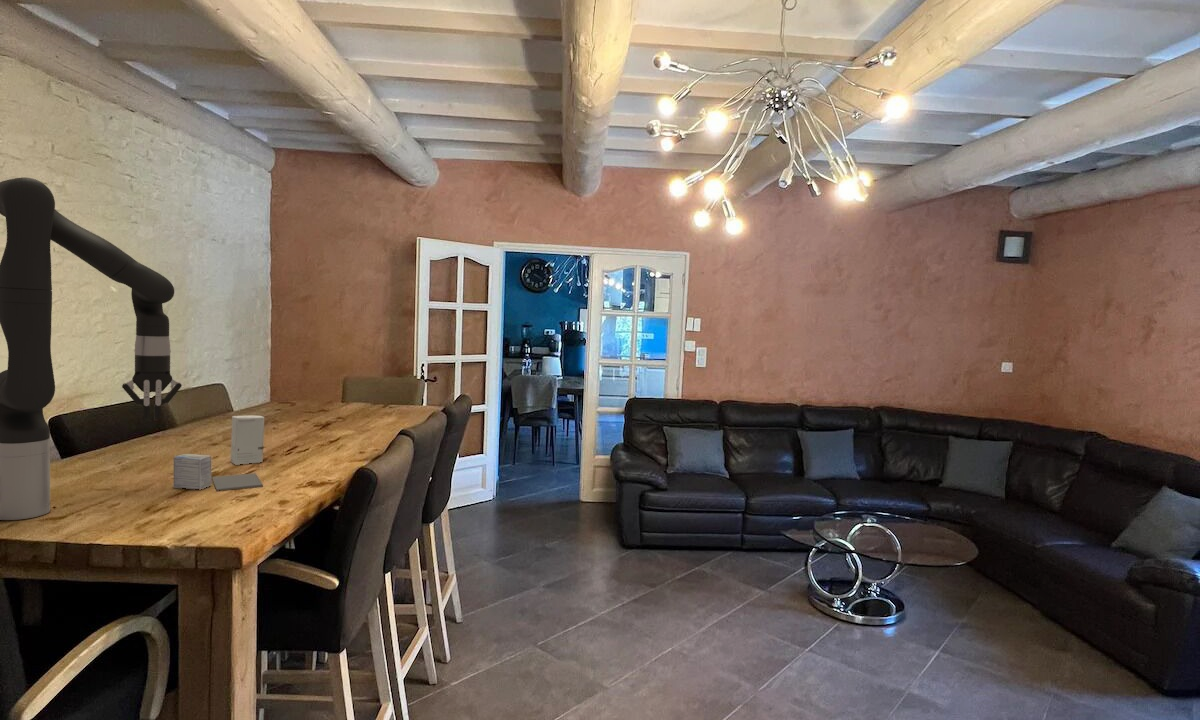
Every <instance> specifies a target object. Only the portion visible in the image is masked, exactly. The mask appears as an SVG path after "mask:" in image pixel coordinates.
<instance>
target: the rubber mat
mask: <svg viewBox="0 0 1200 720" xmlns="http://www.w3.org/2000/svg"><path fill="white" fill-rule="evenodd" d="M212 480H213V481H212ZM211 481H212V483H214V484H213V487H214V488H216V489H215V491H216V492H220V491H219V490H226V491H232V490H231V489H235V490H243V488H245V489H253V488H254V487H255V488H263V487H264V484H263V483H262V481H261V480H260V478H259V477H258V474H257V473H255V472H254V473H241V474H233V475H232V474H230V475H220V476H211Z"/></svg>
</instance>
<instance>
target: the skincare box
mask: <svg viewBox="0 0 1200 720" xmlns="http://www.w3.org/2000/svg"><path fill="white" fill-rule="evenodd" d="M264 433H265V416H262V415H260V414H259V415H258V414H257V415H256V414H255V415H250V414H249V415H248V414H247V415H232V416H231V435H230V438H231V441H230V463H231V464H233V465H234V464H235V465H234V466H241V465H240V464H243V465H250V464H249V463H252V464H260V462H262V463H263V462H264V461H263V458H264V457H263V455H264V438H265V435H264Z"/></svg>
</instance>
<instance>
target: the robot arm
mask: <svg viewBox="0 0 1200 720" xmlns="http://www.w3.org/2000/svg"><path fill="white" fill-rule="evenodd" d="M0 215H1V216H3V217H5V225H6V241H5V242H6V243H5V248H4V250H3V253H2V257H1V260H0V327H1V329H2V333H3V334H4V338H5V341H6V345H7V354H8V358H7V369H5V370H3V371H1V372H0V521H17V520H26V519H32V518H36V517H40V516H44V515H47V514H48V513H50V512H51V437H50V436H51V429H50V426H49V425H48V422H47V421H46V419H45V415H44V408H46V407H48V405H49V404H50V403H51V402H52V400H53V398H54V396H55V392H56V382H55V375H54V367H53V360H52V352H51V351H52V350H51V349H52V348H51V346H52V345H51V343H52V314H53V313H52V311H53V310H52V309H53V287H52V286H53V285H52V256H51V242H54V243H55V244H57V245H58V246H60V247H62V248H63V249H65V250H67V251H69V252H70V253H71V254H72V255H74V256H76V257H77V258H78V259H81V260H82V261H83V262H85V263H86V264H88V265H89V266H91V267H92V268H94V269H95V270H96V271H98V272H100V273H102V274H103V275H104V276H106V277H108V278H109V279H110V280H112V281H114V282H117V283H119V284H123V285H126V286H127V287H129V288H130V289H131V294H130V295H131V301H132V306H133V311H134V314H135V319H136V323H135V327H136V328H135V342H134V349H133V350H134V374H133V376H132V377H131V378H132V379H131V380H129V381H127V382H124V383H122V385H121V387H122V389H123V391H125V392H126V394H127V395H128V396H129V397H130V398H131V399H132V401H133V402H135V404H137V405H141V406H143V418H144V419H146V421H151V404H150V401H151V400H150V397H151V396H150V395H151V394H150V393H155V396H154V397H155V401H154V402H155V403H154V405H153V408H154V409H153V421H158V419H159V418H161V414H162V413H161V412H162V411H161V410H162V409H161V408H162V405H164V404H168V403H170V402H171V400H172V399H173V398H174V397H175V395H176V394H177V393H178V392H179V390H180V389H181V388H182V383H181V382H178V381H176V380H174V379H173V376H172V375H171V341H170V319H169V316H168V315H166V314H165V313H164V308H163V304H166V303H168V302H170V301H172V300H173V298H174V296H175V287H174V286H173V283H172V282H171V281H170V280H169V279H168V278H167V277H165V276H164V275H162V274H161V273H159V272H157V271H156V270H154V269H153V268H151V267H149V266H146V265H144V264H143V263H140V262H139V261H137V260H135V258H133V257H132V256H131V255H129V254H127V253H126V252H125V251H124V250H123V249H121V248H119V247H117V246H116V245H115V244H113V243H112V242H110V241H109V240H107V239H105V238H104V237H101V236H99V235H98V234H96V233H93V232H92V231H90V230H88V229H86V228H84V227H82V226H80V225H79V224H77V223H75V222H73V221H72V220H70V219H69V218H67V217H66V216H64V215H63V214H62V213H60V212H59V211H58V210H56V200H55V196H54V194H53V193H52V191H51V188H49V187H48V185H46V184H44V183H43V182H42V181H40V180H38V179H37V178H31V177H23V176H22V177H16V178H9V179H6V180H2V181H0ZM134 385H135V386H136V387H137V388H138V389H139V390H140V391H141V392H142V393H143V399H142V398H140V397H139V395H138V394H137V393H136V391H134V389H135V386H134ZM169 385H170V386H169ZM168 386H169V387H170V390H169V392H168V393H167V394H166V395H165V396H164V397H163V398H162V393H163V392H164V390H165V389H166V388H167V387H168Z"/></svg>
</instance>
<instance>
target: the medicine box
mask: <svg viewBox="0 0 1200 720" xmlns="http://www.w3.org/2000/svg"><path fill="white" fill-rule="evenodd" d="M209 486H210V487H211V486H212V455H209V454H208V455H207V454H195V453H183V454H179V455H176V456H174V457H173V489H182V488H186V490H195V489H199V490H200V491H202V490H204V488H205V489H207V488H209ZM206 487H207V488H206ZM201 489H202V490H201ZM199 490H198V491H199Z"/></svg>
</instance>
